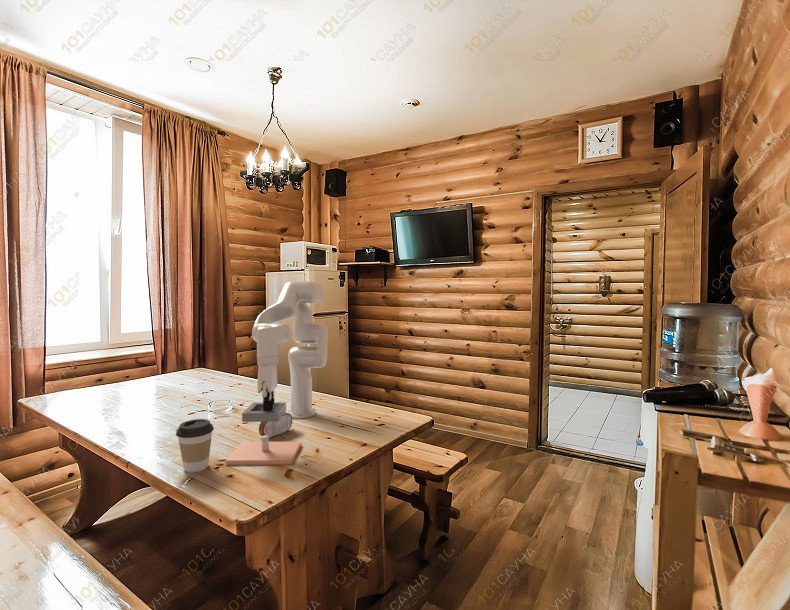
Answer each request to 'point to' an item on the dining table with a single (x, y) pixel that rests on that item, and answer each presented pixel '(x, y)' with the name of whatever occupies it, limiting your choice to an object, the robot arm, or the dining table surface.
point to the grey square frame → (263, 413)
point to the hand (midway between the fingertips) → (268, 409)
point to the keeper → (264, 453)
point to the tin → (276, 426)
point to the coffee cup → (195, 444)
